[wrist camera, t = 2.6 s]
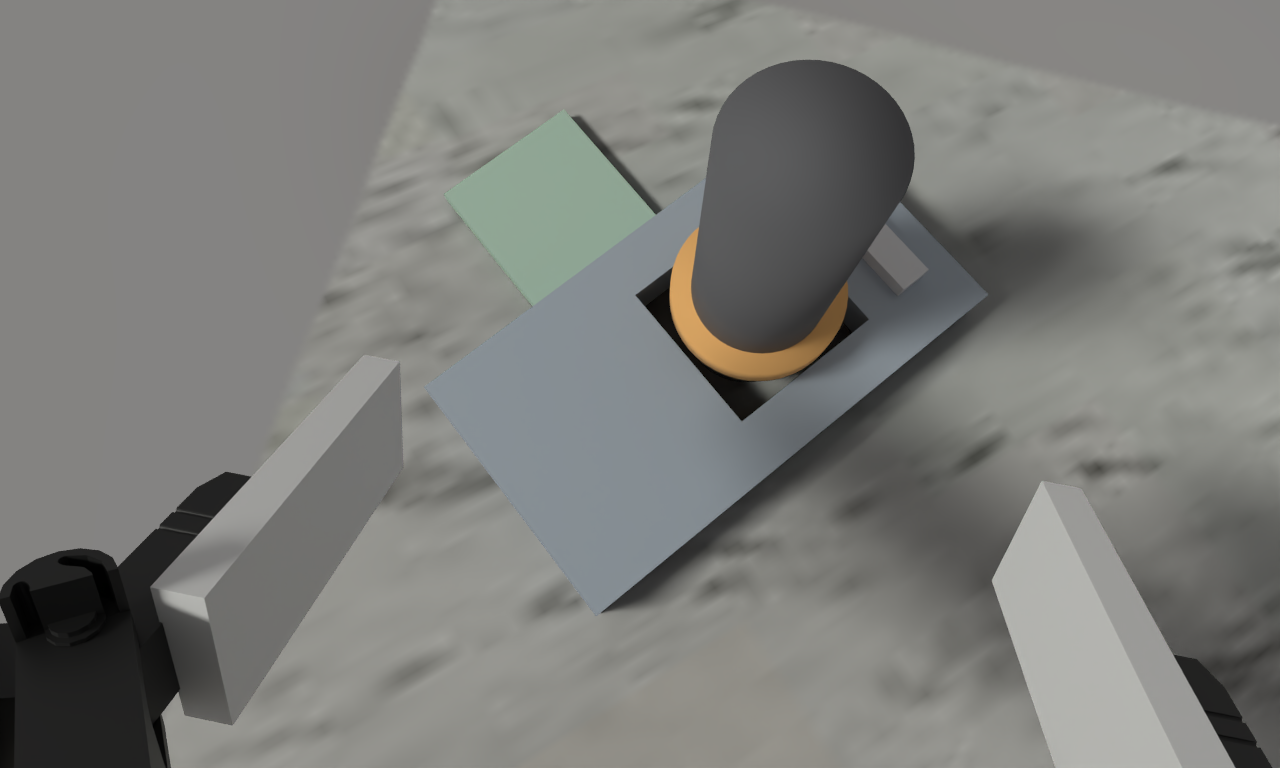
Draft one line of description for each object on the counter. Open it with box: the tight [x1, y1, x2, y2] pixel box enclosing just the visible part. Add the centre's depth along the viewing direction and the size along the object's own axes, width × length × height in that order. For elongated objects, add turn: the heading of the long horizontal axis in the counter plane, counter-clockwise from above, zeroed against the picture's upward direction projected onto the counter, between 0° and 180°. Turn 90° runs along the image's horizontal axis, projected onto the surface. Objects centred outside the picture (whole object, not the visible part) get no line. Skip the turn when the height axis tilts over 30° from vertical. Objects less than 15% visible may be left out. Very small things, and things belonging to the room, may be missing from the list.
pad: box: [444, 110, 656, 306], centre depth 31 cm, size 6×6×1 cm
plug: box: [670, 60, 915, 382], centre depth 24 cm, size 6×6×13 cm
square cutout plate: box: [424, 178, 989, 616], centre depth 28 cm, size 10×18×4 cm, turn 129°
